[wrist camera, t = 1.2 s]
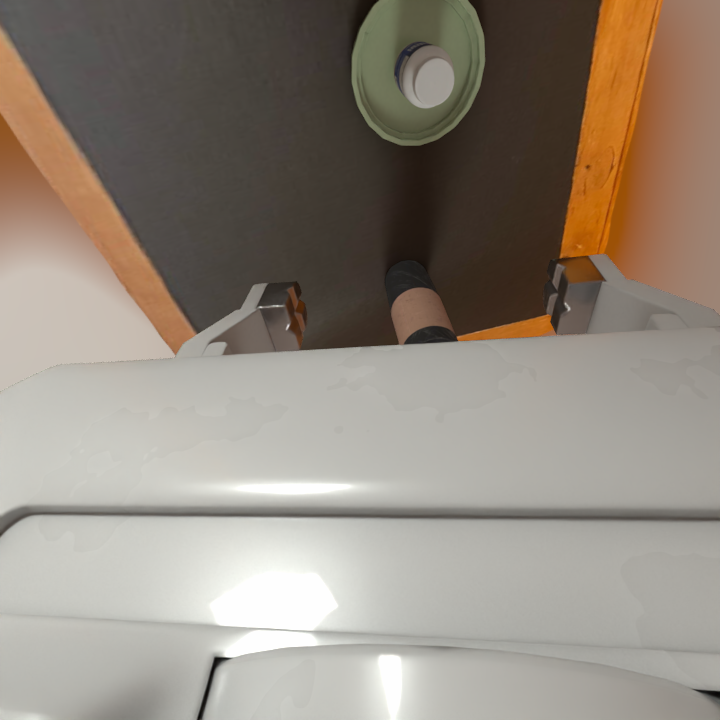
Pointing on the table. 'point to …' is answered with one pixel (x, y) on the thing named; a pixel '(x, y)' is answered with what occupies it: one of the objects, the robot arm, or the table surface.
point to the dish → (380, 50)
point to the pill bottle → (424, 74)
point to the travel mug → (416, 306)
